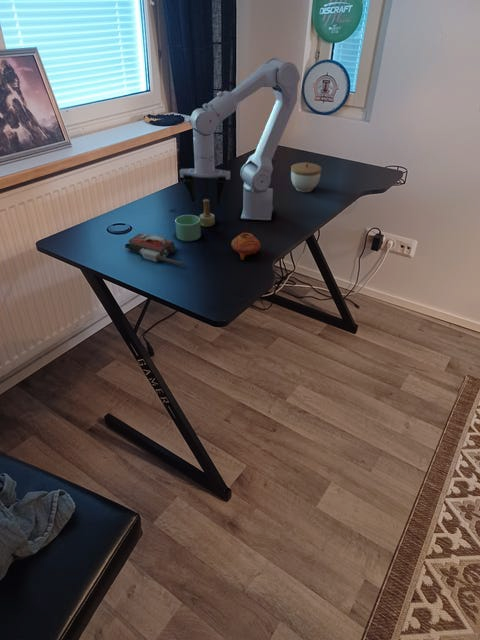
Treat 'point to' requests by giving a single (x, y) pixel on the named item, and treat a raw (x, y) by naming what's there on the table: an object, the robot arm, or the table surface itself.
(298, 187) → the trinket box
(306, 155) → the table surface
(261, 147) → the robot arm
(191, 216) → the bucket
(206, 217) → the rubber stamp
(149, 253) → the red grey blocky piece
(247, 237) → the pot
